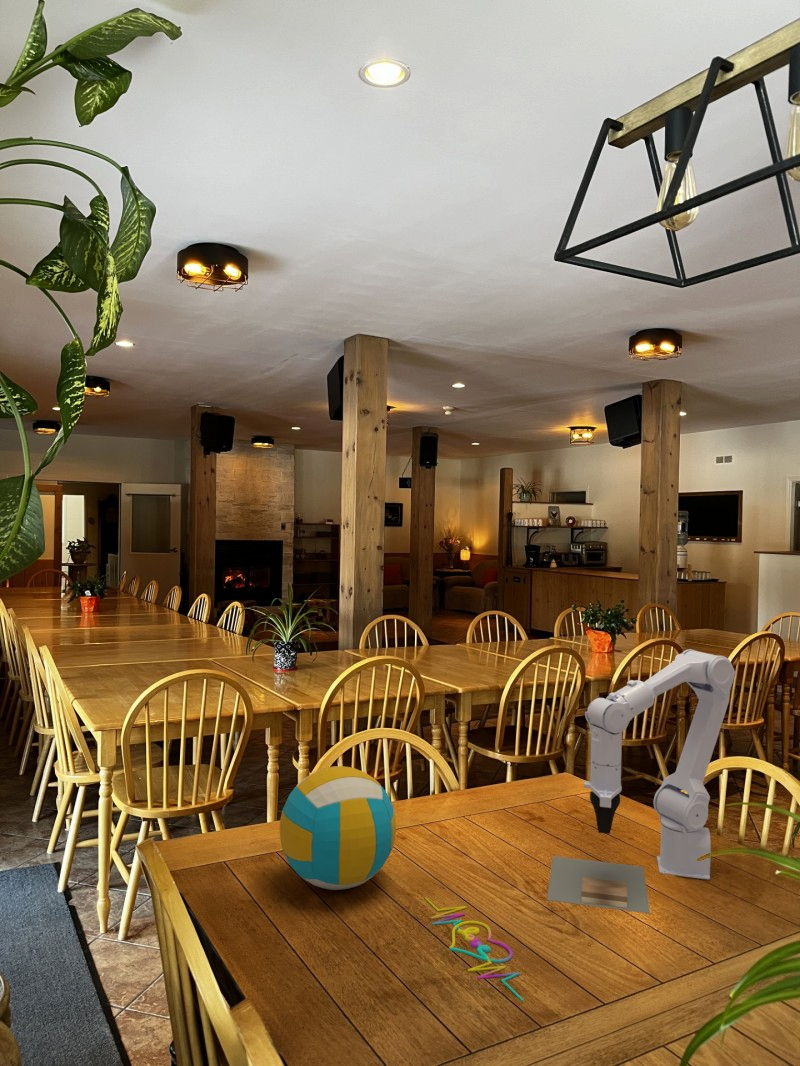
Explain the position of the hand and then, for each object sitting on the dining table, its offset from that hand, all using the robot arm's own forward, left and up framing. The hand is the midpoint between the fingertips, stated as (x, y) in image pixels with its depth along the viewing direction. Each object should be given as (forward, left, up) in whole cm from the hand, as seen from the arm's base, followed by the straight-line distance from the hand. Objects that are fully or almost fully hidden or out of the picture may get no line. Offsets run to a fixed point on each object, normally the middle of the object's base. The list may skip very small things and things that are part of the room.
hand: (604, 832), depth 155 cm
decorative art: (+21, +29, -10) cm, 37 cm away
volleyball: (+49, +15, -10) cm, 52 cm away
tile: (0, +4, -8) cm, 9 cm away
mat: (+1, +1, -10) cm, 10 cm away
